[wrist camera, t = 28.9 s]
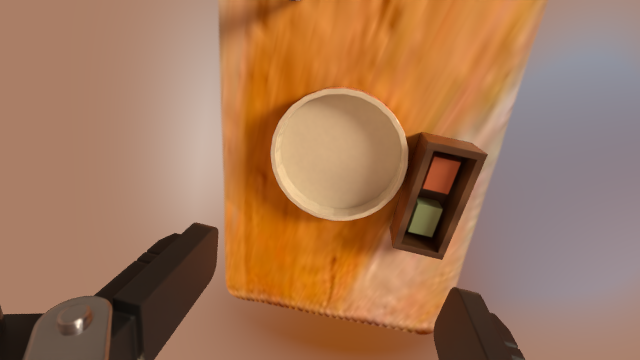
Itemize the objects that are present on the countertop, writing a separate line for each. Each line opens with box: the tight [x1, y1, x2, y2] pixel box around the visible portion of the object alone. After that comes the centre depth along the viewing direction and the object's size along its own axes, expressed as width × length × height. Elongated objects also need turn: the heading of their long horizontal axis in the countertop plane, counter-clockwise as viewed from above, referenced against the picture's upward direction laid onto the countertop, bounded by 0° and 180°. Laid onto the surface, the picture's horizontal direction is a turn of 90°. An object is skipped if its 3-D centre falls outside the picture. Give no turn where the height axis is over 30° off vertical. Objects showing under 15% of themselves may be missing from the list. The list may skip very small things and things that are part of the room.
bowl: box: [270, 87, 408, 221], centre depth 36 cm, size 16×16×3 cm
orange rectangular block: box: [422, 152, 461, 194], centre depth 34 cm, size 4×3×2 cm
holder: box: [390, 132, 488, 260], centre depth 35 cm, size 14×6×5 cm, turn 169°
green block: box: [407, 196, 443, 237], centre depth 37 cm, size 4×3×2 cm
